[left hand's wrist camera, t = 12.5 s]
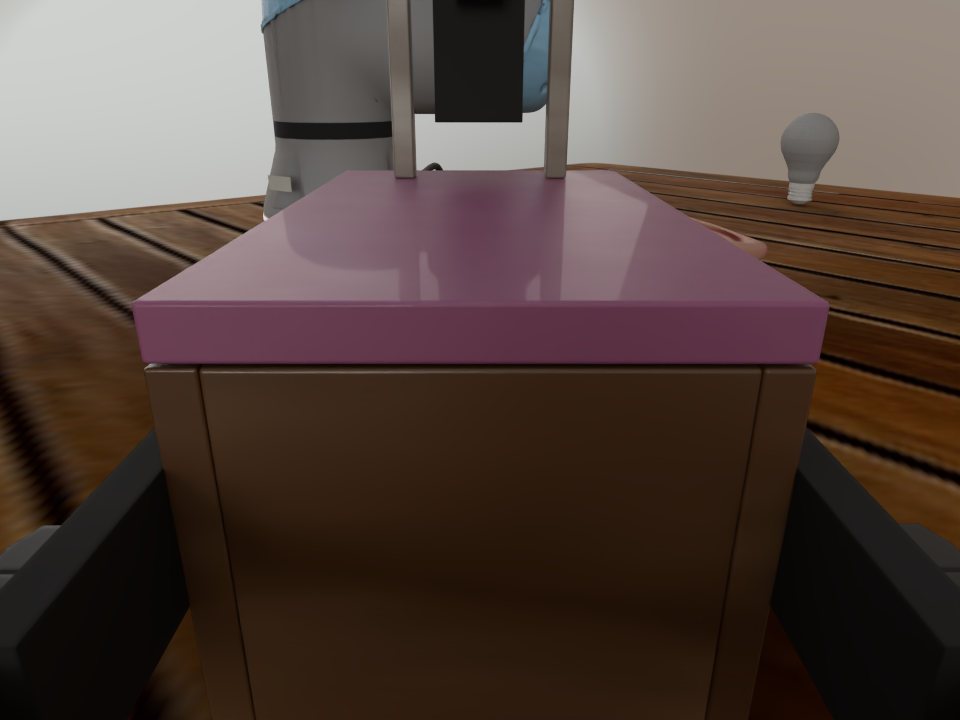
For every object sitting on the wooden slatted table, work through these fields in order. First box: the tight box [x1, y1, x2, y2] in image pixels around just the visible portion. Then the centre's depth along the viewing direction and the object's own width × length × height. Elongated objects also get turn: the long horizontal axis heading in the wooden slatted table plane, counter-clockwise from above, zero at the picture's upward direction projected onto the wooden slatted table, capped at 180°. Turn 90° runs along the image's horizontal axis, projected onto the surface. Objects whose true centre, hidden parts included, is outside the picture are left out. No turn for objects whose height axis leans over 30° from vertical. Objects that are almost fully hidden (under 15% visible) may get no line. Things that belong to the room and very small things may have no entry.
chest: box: [144, 364, 816, 720], centre depth 19 cm, size 16×10×9 cm, turn 0°
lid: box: [132, 0, 829, 364], centre depth 16 cm, size 17×10×8 cm, turn 0°
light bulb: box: [781, 113, 839, 204], centre depth 79 cm, size 6×6×10 cm
